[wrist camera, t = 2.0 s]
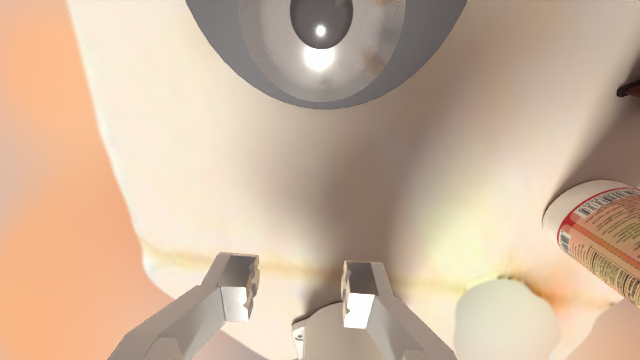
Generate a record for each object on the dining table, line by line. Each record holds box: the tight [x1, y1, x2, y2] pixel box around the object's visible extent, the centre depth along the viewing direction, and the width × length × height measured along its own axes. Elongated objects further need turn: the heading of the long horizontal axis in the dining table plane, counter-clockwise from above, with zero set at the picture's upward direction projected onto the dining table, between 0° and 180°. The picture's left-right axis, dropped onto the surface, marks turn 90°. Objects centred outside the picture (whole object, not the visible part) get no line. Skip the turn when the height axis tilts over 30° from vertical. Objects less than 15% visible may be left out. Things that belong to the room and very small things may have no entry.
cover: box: [238, 0, 406, 102], centre depth 17 cm, size 11×11×4 cm
